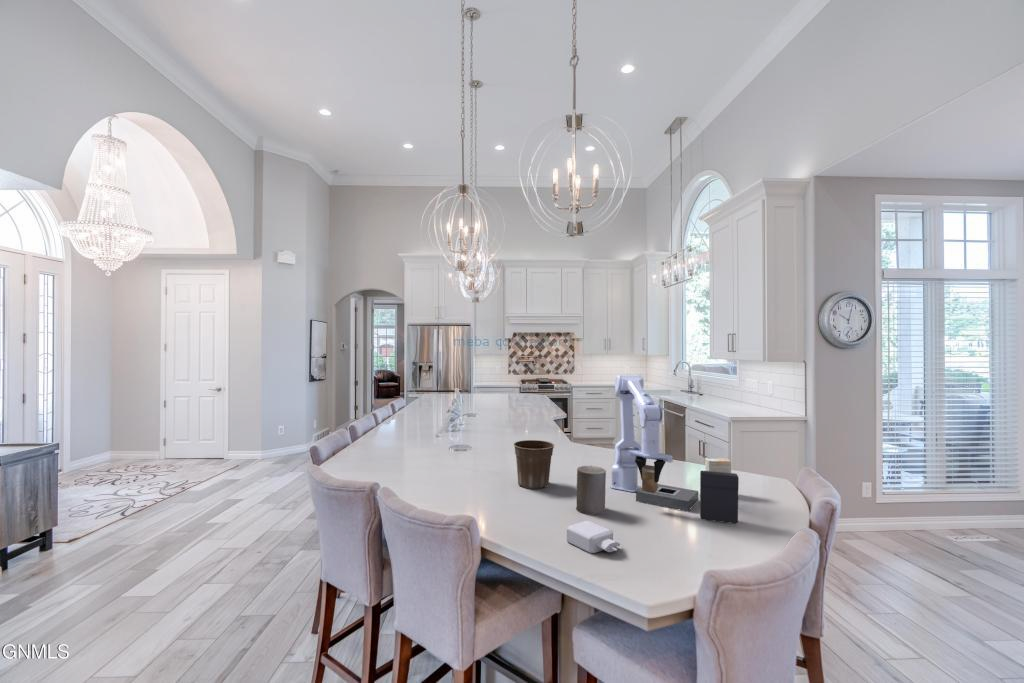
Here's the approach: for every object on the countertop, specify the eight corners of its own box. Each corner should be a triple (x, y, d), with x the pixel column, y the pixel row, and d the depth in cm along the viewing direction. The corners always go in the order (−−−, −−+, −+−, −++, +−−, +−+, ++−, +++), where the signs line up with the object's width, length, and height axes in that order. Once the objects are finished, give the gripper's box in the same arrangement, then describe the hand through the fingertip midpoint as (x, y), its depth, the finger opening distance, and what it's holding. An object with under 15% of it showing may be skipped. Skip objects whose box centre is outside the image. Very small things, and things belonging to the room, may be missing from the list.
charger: (606, 563, 121) (566, 543, 133) (630, 554, 127) (589, 536, 139) (606, 544, 121) (566, 526, 133) (630, 536, 127) (590, 519, 139)
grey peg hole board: (635, 501, 170) (636, 491, 170) (648, 491, 181) (649, 482, 181) (687, 511, 160) (688, 500, 160) (698, 500, 171) (698, 490, 171)
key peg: (641, 491, 160) (642, 467, 161) (645, 488, 164) (646, 464, 164) (653, 493, 158) (654, 469, 158) (657, 490, 161) (657, 466, 162)
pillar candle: (570, 509, 160) (571, 465, 160) (586, 502, 167) (587, 460, 167) (595, 517, 153) (595, 471, 153) (611, 510, 161) (611, 465, 160)
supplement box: (727, 492, 181) (727, 458, 182) (731, 496, 177) (731, 461, 177) (704, 491, 182) (704, 457, 182) (708, 495, 178) (708, 460, 178)
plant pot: (555, 491, 180) (555, 448, 180) (512, 490, 180) (513, 448, 181) (552, 479, 197) (552, 440, 197) (513, 478, 197) (513, 439, 197)
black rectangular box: (736, 519, 152) (737, 473, 153) (738, 524, 148) (738, 476, 149) (699, 515, 156) (700, 469, 156) (700, 520, 152) (700, 472, 152)
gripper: (625, 439, 162) (625, 479, 162) (668, 444, 154) (668, 487, 154) (632, 436, 168) (632, 474, 168) (674, 441, 160) (674, 482, 159)
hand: (650, 480), depth 161 cm, fingers closed on key peg, 4 cm apart
